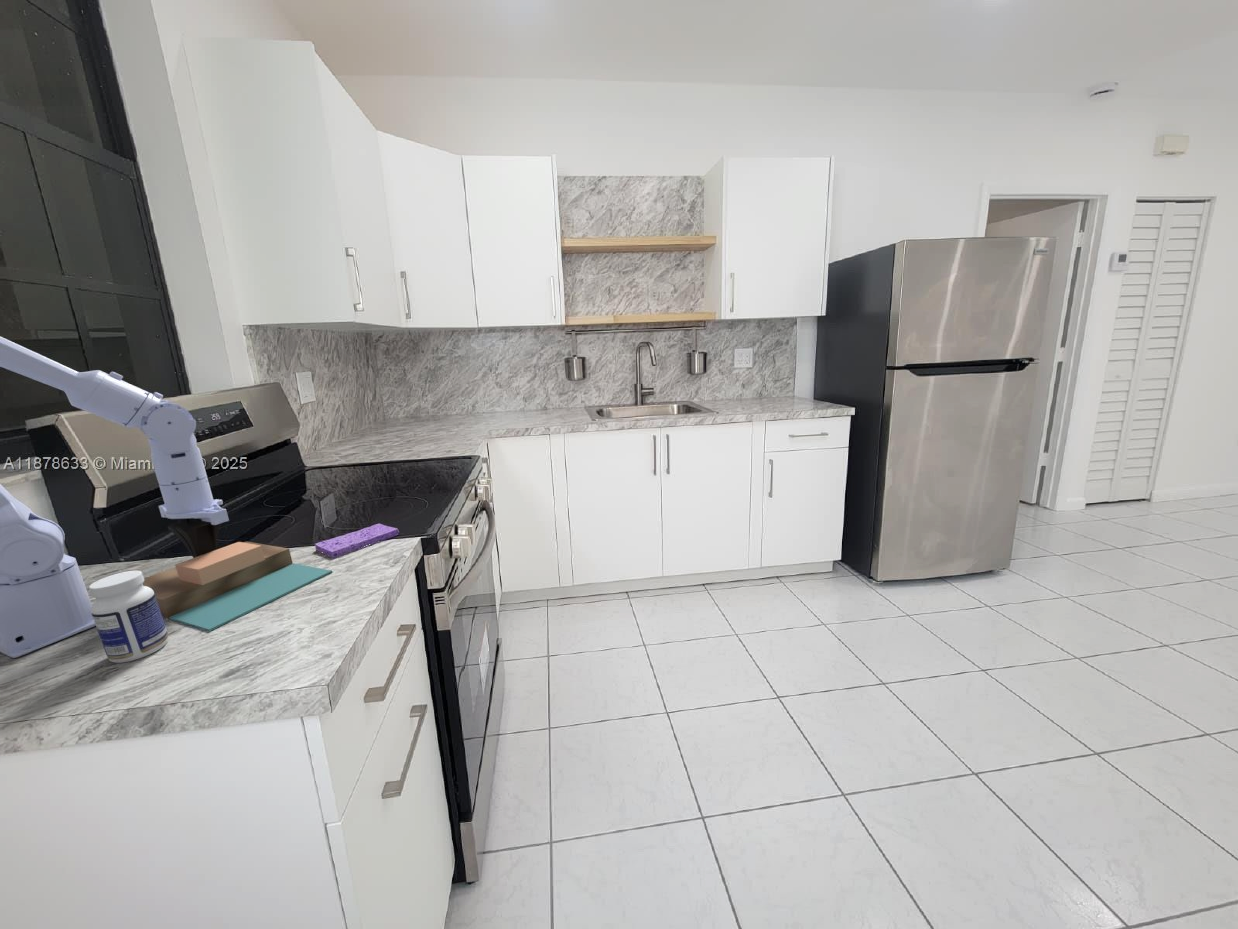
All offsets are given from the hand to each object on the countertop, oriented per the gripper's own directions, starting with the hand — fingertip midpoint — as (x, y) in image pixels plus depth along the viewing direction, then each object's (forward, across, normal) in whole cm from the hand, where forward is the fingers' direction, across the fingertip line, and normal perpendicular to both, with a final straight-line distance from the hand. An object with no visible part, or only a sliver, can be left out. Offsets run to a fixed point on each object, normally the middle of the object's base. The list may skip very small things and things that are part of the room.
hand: (206, 561), depth 80 cm
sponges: (+5, -9, -20) cm, 22 cm away
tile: (0, -4, 0) cm, 4 cm away
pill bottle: (+4, -12, +15) cm, 20 cm away
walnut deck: (+4, 0, 0) cm, 4 cm away
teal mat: (+4, -12, 0) cm, 12 cm away
